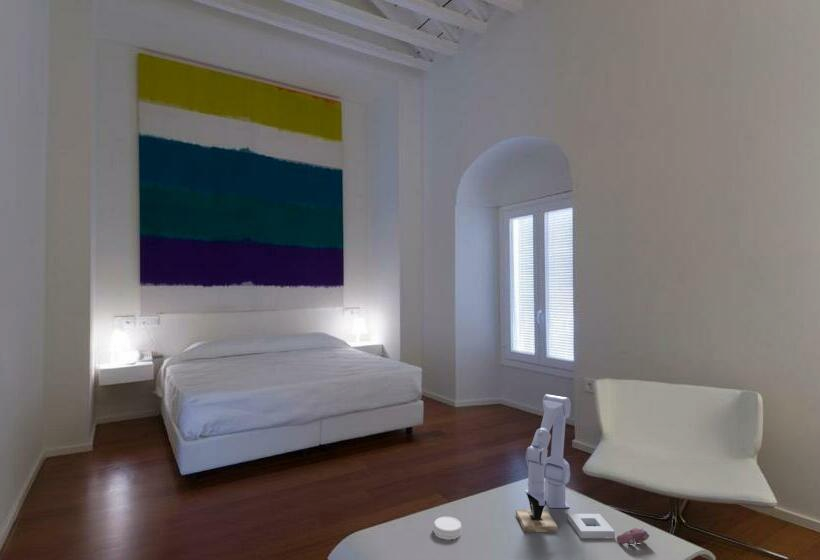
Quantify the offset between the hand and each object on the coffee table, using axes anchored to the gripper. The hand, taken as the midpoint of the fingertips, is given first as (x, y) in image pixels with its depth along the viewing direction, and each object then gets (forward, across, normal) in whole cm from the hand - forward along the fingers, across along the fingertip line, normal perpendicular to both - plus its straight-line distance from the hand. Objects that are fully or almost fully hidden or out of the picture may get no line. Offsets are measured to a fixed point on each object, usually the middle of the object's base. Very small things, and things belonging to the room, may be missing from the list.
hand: (536, 515), depth 165 cm
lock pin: (+3, 0, 0) cm, 3 cm away
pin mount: (+3, 0, 0) cm, 3 cm away
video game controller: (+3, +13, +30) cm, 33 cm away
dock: (+3, +4, +19) cm, 20 cm away
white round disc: (+3, +6, -34) cm, 35 cm away
